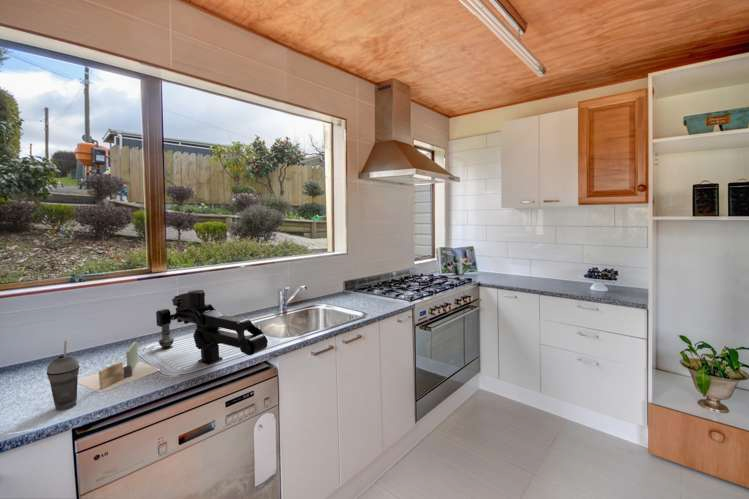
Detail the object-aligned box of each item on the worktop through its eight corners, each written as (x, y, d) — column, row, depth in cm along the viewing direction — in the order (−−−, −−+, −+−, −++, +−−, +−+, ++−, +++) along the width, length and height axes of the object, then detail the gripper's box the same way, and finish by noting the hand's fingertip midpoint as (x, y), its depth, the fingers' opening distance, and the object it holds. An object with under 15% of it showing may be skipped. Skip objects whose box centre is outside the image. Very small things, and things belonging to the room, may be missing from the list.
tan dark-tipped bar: (128, 374, 126) (127, 357, 126) (133, 375, 126) (132, 358, 125) (98, 388, 115) (97, 370, 115) (104, 389, 115) (102, 371, 114)
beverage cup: (62, 401, 108) (57, 337, 106) (88, 400, 108) (83, 336, 107) (42, 415, 100) (36, 346, 99) (70, 413, 101) (64, 345, 99)
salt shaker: (167, 351, 149) (165, 323, 148) (155, 350, 150) (153, 322, 149) (177, 346, 154) (176, 319, 153) (166, 345, 156) (164, 318, 154)
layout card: (162, 369, 130) (162, 369, 130) (99, 393, 113) (99, 392, 113) (135, 361, 138) (135, 360, 138) (73, 381, 121) (73, 380, 121)
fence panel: (130, 373, 126) (129, 351, 126) (127, 373, 126) (126, 351, 125) (138, 361, 136) (137, 341, 136) (135, 362, 136) (133, 341, 135)
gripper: (211, 291, 150) (187, 288, 157) (168, 300, 133) (144, 296, 140) (212, 317, 151) (189, 313, 158) (170, 329, 134) (145, 324, 141)
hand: (168, 311), depth 149 cm, fingers open, 9 cm apart
